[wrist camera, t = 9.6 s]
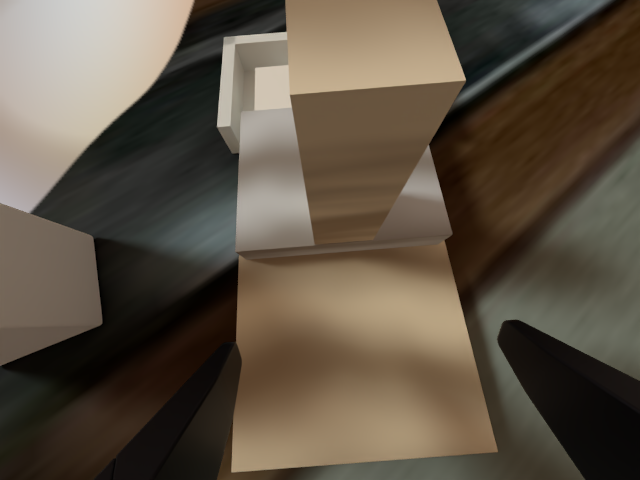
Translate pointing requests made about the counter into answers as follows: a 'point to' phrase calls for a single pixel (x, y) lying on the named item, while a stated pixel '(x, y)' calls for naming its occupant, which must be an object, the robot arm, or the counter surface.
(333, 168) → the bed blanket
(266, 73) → the tile
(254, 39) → the tray
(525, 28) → the counter surface
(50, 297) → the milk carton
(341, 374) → the board
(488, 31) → the counter surface
